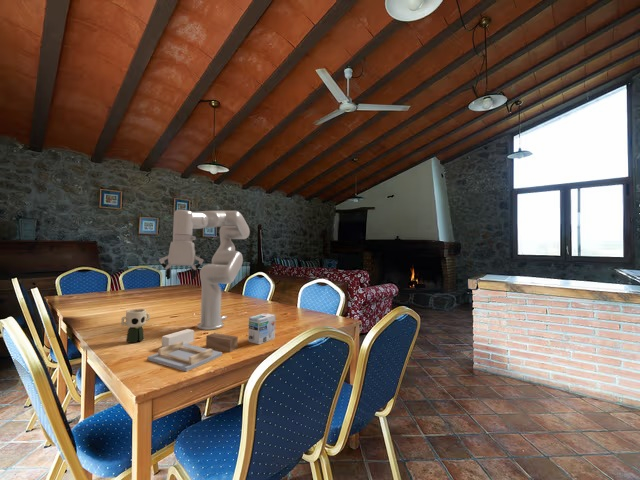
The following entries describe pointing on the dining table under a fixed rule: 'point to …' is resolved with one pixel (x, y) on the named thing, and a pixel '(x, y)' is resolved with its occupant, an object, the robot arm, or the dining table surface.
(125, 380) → the dining table surface
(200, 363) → the jig board
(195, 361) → the cradle
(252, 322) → the light bulb box
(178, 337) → the plank
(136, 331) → the character mug
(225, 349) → the brown rectangular block
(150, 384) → the dining table surface
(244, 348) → the dining table surface
